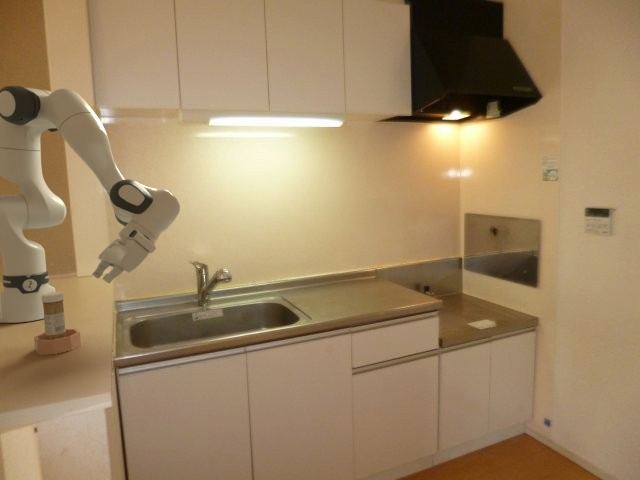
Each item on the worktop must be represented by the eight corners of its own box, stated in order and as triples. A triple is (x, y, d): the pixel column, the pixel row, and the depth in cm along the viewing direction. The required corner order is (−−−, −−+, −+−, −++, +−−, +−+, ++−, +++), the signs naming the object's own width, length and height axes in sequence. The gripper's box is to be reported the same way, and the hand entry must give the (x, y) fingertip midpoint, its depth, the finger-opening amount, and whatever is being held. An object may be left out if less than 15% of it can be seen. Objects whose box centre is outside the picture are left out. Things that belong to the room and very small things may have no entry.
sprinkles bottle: (64, 341, 110) (60, 290, 109) (69, 345, 107) (65, 292, 106) (43, 345, 107) (39, 293, 106) (48, 350, 104) (43, 296, 103)
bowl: (33, 348, 108) (32, 334, 107) (74, 339, 114) (73, 326, 113) (40, 357, 101) (39, 343, 100) (83, 347, 107) (82, 334, 107)
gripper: (114, 230, 124) (79, 267, 119) (140, 233, 109) (101, 276, 104) (131, 244, 128) (98, 280, 122) (158, 249, 113) (122, 291, 107)
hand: (100, 279), depth 113 cm, fingers open, 8 cm apart
